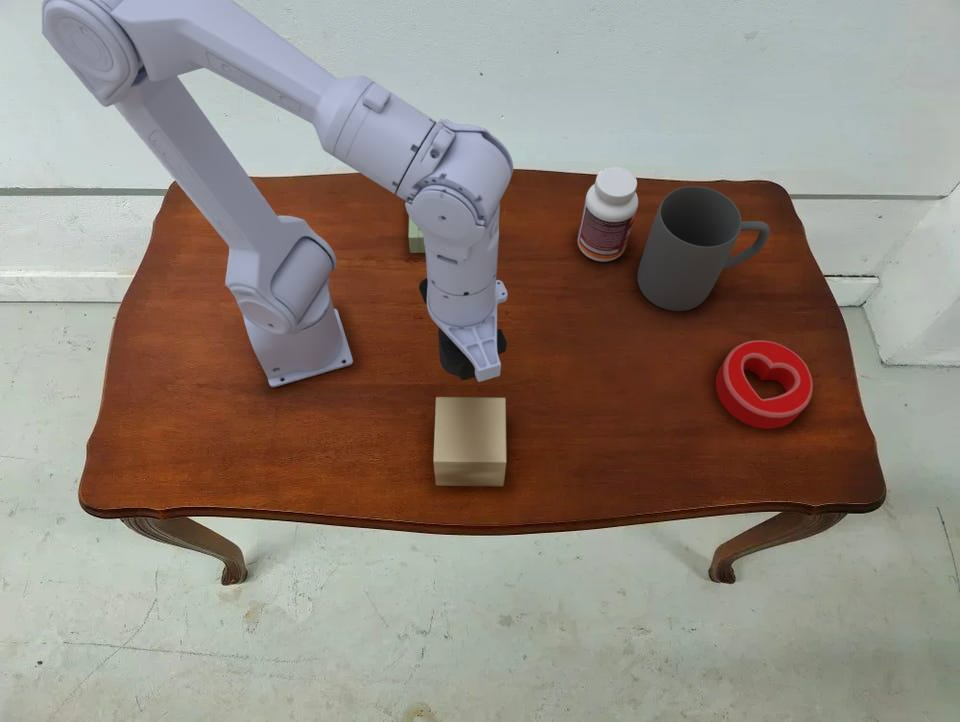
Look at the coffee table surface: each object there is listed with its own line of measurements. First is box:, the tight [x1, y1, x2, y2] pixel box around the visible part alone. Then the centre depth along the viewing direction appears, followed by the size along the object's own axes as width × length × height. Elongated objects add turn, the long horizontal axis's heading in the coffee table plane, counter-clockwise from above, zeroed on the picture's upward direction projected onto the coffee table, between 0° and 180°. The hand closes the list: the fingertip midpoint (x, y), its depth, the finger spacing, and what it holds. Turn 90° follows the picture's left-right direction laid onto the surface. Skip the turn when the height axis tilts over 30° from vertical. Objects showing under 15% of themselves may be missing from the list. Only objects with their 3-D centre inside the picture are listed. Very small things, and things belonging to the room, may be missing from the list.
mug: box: [637, 185, 771, 312], centre depth 82 cm, size 14×9×12 cm
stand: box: [432, 396, 507, 487], centre depth 72 cm, size 7×7×6 cm
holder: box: [408, 215, 426, 254], centre depth 89 cm, size 8×8×3 cm
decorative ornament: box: [715, 339, 814, 430], centre depth 78 cm, size 10×10×3 cm
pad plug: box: [437, 326, 460, 378], centre depth 68 cm, size 4×4×4 cm
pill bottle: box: [577, 166, 639, 263], centre depth 85 cm, size 6×6×11 cm
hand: (462, 353), depth 69 cm, fingers closed on pad plug, 4 cm apart
